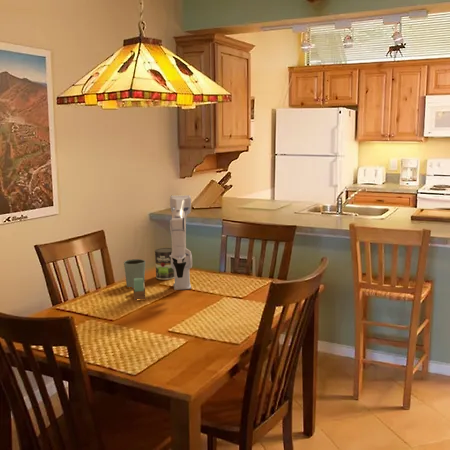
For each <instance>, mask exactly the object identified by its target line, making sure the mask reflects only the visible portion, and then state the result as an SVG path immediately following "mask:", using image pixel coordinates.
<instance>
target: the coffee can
mask: <svg viewBox="0 0 450 450" xmlns="http://www.w3.org/2000/svg"><path fill="white" fill-rule="evenodd" d="M171 253H172V247H163V248H162V247H161V248H156V249H154V255H155V256H154V259H155V260H154V261H155V278H156V279H158V280H162V281H163V280H164V281H165V280H166V281H167V280H173V279H175V278H174V269H172V268H171V257H170V255H171Z"/></svg>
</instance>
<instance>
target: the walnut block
mask: <svg viewBox="0 0 450 450" xmlns="http://www.w3.org/2000/svg"><path fill="white" fill-rule="evenodd" d="M137 299H145V300H146V287H145V288H144V291H138V292H134V291H133V301H134V300H135V301H138V300H137Z"/></svg>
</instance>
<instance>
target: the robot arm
mask: <svg viewBox="0 0 450 450" xmlns="http://www.w3.org/2000/svg"><path fill="white" fill-rule="evenodd" d="M169 207H170V212H171V219H170V220H169V229H170V230H169V231H170V236H171V248H172V253H171V255H170V257H171V268H172V269H174V278H173V279H174V283H173V289H174V291H175V290H176V291H177V290H178V291H179V290H191V289H192V285H191V279H190V277H191V276H190V275H191V274H190V272H191V271H190V269H192V267H193V255H192V251H191V250H190V249H188V248H187V228H186V227H187V217H188V215H189V214H191V211H192V197H191V195H190V194H185V195H181V194H180V195H173V194H172V195H170V196H169Z"/></svg>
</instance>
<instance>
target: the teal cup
mask: <svg viewBox="0 0 450 450" xmlns="http://www.w3.org/2000/svg"><path fill="white" fill-rule="evenodd" d="M123 265H124V266H123V267H124V275H125V282H126V283H125V285H126V287H127V288H128V287H132V288H131V289H134V278H143V282H144V283H146V282H145V276H146V275H145V273H146V272H145V271H146V260H144V259H142V258H141V259H140V258H139V259H138V258H135V259H127V260H125V261H124V262H123Z"/></svg>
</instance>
